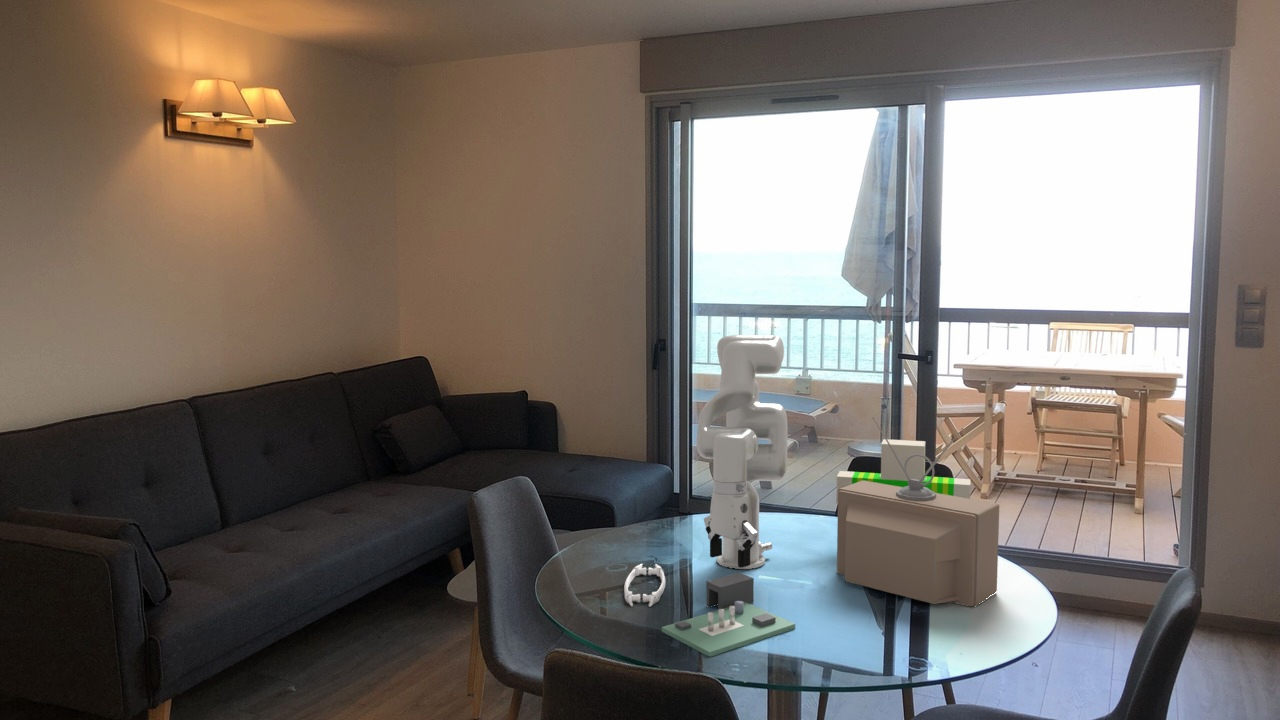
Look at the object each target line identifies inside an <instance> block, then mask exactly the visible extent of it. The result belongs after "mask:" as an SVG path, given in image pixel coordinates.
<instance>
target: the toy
mask: <svg viewBox="0 0 1280 720" xmlns="http://www.w3.org/2000/svg"><path fill="white" fill-rule="evenodd" d="M887 440H888V442H889V443H890V445H891V447H892V448H893V449H894V451H895V452H896V454H897V456H898V458H899V459H900V461H901V463H902V465H903V466H904V464H905V462H906V460H907V458H909V457H910V456H911V455H914V454H921V455H924V456H926V441H924V440H908V439H907V440H905V439H888V438H887ZM880 447H881V449H880V451H881V452H880V454H881V456H880V457H881V458H880V473H878V472H876V473H875V472H860V471H849V470H848V471H847V470H839V472H838V474H837V475H836V499H835V500H836V501H835V502H836V504H837V505H838V489H840V488H843V487H846V486H849V485H851V484H854V483H857V482H860V481H869V482H875V483H881V484H887V485H892V486H898V487H906V486H909V485H908V479H907V478H906V475H905V473H904V471H903V469H902V468H901V466H900V464H899V462H898V461H897V459H896V457H895V456H894V454H893V452H892V450H891V448H890V446H889V444H888V443H887V441H886V440H885V438H884V439H883V440H882V442H881V446H880ZM906 471H907V473H908V475H909V477H910V478H911V479H916V480H920V479H921V478H922V477H923V475H924V474H925V473H926V459H925V458H923V457H920V456H915V457H912V458H911V459H910V460H909V461H908V462H907V465H906ZM931 477H932V476H928V475H926V477H925V478H924V479H923V481H922V483H923V484H925V483H927V482H928V481H929V480H930V479H931ZM923 487H926V488H928V489H930V490H931V491H933V492H935V493H939V494H945V495H950V496H956V497H962V498H968V499H971V478H958V477H942V476H934V478H933V480H932V481H931V482H930V483H929V484H928V485H925V486H923Z"/></svg>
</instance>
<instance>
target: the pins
mask: <svg viewBox="0 0 1280 720" xmlns="http://www.w3.org/2000/svg"><path fill="white" fill-rule="evenodd" d="M713 612H714V611H708V612H707V613H708V631H709V632H713V631H714V613H713ZM729 624H730V625H735V606H733V605H731V606H729ZM719 628H724V609H719Z"/></svg>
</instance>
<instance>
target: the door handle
mask: <svg viewBox="0 0 1280 720" xmlns="http://www.w3.org/2000/svg"><path fill="white" fill-rule="evenodd" d="M654 565H655V566H654V567H648V570H647V567H643V563H640V564H638V565H636V566H635V567H633V568H632V570H631V572H630V573H629V574H628V575H627V576H626V580H625V582H624V587H623V591H624V592H623V593H624V599H625V602H626V603H627V604H629V606H630V607H634V602H636V603H641V600H642V603H648V607H649V608H650V607H652V606H653V605H655V604H657V603H658V602H659V601H660V599H661V596H662V594H664V591H665V588H666V583H667V582H666V576H665V571H664V570H663V568H662V567H661V565H659V564H657V563H655V564H654ZM647 574H648V576H652V575H653V576H656V577H659V578H660V580H661V581H660V582H661V584H660V586H659V588H658V589H657V591H652V592H651V594H650V593H647V594H646V593H643V594H642V597H641V593H637V594H633V590H632V591H631V590H629V587H630V585H631V582H632V581H633V580H634V579H635V577H639V576H640V575H643V576H647Z"/></svg>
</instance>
